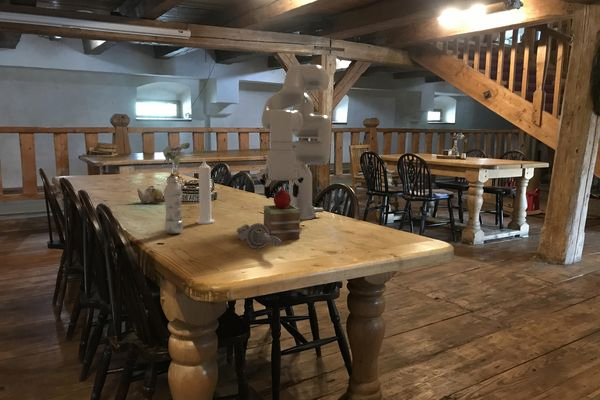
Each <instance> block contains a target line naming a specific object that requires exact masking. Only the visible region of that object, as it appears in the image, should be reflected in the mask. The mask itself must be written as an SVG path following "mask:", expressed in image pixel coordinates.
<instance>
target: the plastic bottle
mask: <svg viewBox="0 0 600 400" xmlns="http://www.w3.org/2000/svg"><path fill="white" fill-rule="evenodd" d="M166 183H167V185H166V186H165V188H164V189H163V191H162V193H163V196H164V199H165V202H164V204H165V222H164V230H165V233H167V234H171V235H177V234H181V233H182V232H183V230H184V221H183V216H182V199H183V198H182V197H183V190H182V188H181V187H180V185H179V184H178V183H179V179H178V176H167V177H166Z"/></svg>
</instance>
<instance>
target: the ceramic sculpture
mask: <svg viewBox="0 0 600 400" xmlns="http://www.w3.org/2000/svg"><path fill="white" fill-rule="evenodd" d="M137 196H138V198H139V200H140V202H141V204H145V203H147V202H148V203H151V204H158V203H160V204H162V203H165V199H164V193H163V190H161V189H160V188H158V187H156V188H155V186H154V185H152V186H148V187H147V188H146V189H141V188H137Z"/></svg>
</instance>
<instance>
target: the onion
mask: <svg viewBox="0 0 600 400" xmlns="http://www.w3.org/2000/svg"><path fill="white" fill-rule="evenodd" d="M273 203H274V205H275V206H276V207H277V208H278V209H280V210H283V209H286V208H287V207H288V206H289V205H290V203H291V197H290V195H289V192H287V191H286V190H285V187H284V186H283V187H281V188H280V189H279V190H277V192H276V193H275V194H274V196H273Z"/></svg>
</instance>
